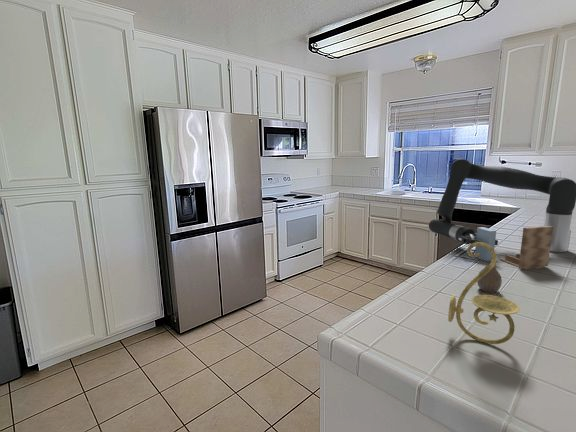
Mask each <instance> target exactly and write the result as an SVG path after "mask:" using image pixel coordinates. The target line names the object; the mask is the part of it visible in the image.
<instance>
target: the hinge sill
mask: <svg viewBox="0 0 576 432" xmlns="http://www.w3.org/2000/svg"><path fill="white" fill-rule="evenodd" d="M552 232H553V227H552V226H544V225H543V226H530V227H523V228H522V235H521V236H522V237H521V244H520V245H521V246H520V253H516V254H515V256H512V255H509V254H505V256H504V258H503V257H502V258H499V261H501V262H504V263H507V264H509V265H511V266H515V267H517V268H519V269H522V270H535V269H545V267H549V259H550V252H551V251H550V246H551V239H552Z"/></svg>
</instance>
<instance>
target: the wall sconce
mask: <svg viewBox="0 0 576 432" xmlns="http://www.w3.org/2000/svg"><path fill="white" fill-rule="evenodd" d="M476 246H483V247H485V248H487V249H488V250H489V251H490V252H491V255H492V261H490V263H489V264H488V265H489V266H488V267H487V268H486V269H485V270H484V271H482V272H481V273H480V274H479V273H478V274H479V275H476V276H475V277H474V278H473V279H472V280H471V281H470V282H469V283H467V285H466V286H465V288H463V290H462V292H461V293H460V295H459V298H458V301H457V299H456V298H457V297H456V295H454V294H452V295H451V298H450V301H449V307H448V316H447V317H448V318H447V319H448V322H449V323H452V322H453V320H454V318H455V317H456V322H457V325H458V326H459V328H460V329H461V330H462V331H463V333H464V334H465V335H467V336H468V337H470V338H471V339H473V340H475V341H477V342H479V343H480V342H481V343H483V342H484V344H488V345H490V344H491V345H498V344H499V345H500V344H503V343H506V342H508V341H509V340H510V339H512V337H513V336H514V333H515V322H514V319H513V318H512V316H511V315H515V314H517V313H519V311H520V306H519V305H518V304H517V303H516V302H514V301H512V300H510V299H508V298H505V297H502V296H497V295H491V294H480V295H479V294H478V295H474V296H472V298H471V302H472V304H473V305H474V306H476V307H477V308H476V309H474V312H473V318H474V320H475V322H476V323H478V324H479V325H482V326H483V325H484V326H488V325H489V324H490V322H488V321H487V320H482V319H480V318H479V313H480V312H484V311H486V312H489V313H492V314H488V315H487V316H488V318H489V321H494V322H495V323H497V319H499V318H500V317H498V316H496V315H495V314H497V315H503V316H504V317H505V318H506V320H507V321H508V325H509V329H508V332H507V334H506V335H505V336H504V337H502V338H499V339H487V338H483V337H479V336H478V335H475V334H473V333H472V332H471V331H469V330H468V329H467V328H466V327H465V326H464V324H463V321H462V319H461V318H462V317H461V314H463V313H464V310H465V309H464V308H463V307H462V304H463V301H464V299H465V298H466V295H467V294H468V292H469V290H471V289H472V287H473V286H475V284H476V283H477V281H479V280H480V279H481V278H482V277H483V276H485V275H486V274H487V273H488V272H489V271H490V270H491V269H492V268H493V267H494V266H495V265H496V264H497V254H496V253H497V252H496V251H495V248H494V249H493V248H492V247H491V246H490V245H488V244H486V243H482V242H476V243H472V244H468V246H467V249H466V254H467V255H468V256H469V257H471V258H472V259H473V258H478V256H479V255H480V254H479V253H477V254H475V253H472V251H471V250H472V249H473V248H474V247H476ZM495 267H496V266H495Z"/></svg>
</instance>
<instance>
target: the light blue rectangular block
mask: <svg viewBox="0 0 576 432" xmlns="http://www.w3.org/2000/svg"><path fill="white" fill-rule="evenodd" d="M476 233H477V237H476V240H479V241H482V243H486V244H488V245H490V246H491V247H492V248H493V249H494V250H495V247H496V245H495V240H496V238H497V237H496V236H497V230H494V229H491V228H488V227H484V226H482V227H480V226H479V227H477V228H476ZM474 249H475V250H474V254H477V253H479V254H480V255H479V256H478V257H477V258H479V259H481V260H484V261H486V262H491V261H492V255H491V252H490V251H489V250H488V249H487V248H485V247H483V246H475V248H474Z"/></svg>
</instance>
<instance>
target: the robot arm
mask: <svg viewBox="0 0 576 432" xmlns="http://www.w3.org/2000/svg"><path fill="white" fill-rule="evenodd" d="M449 169H450V173H449V176H448V177H449V179H448V181H447V184H446V187H445V190H444V193H443V196H442V198H441V201H440V203H439V205H438V208H437V215H439V216H441V220H440V219H437V218H434V219H432V220H430V221H429V223H428V229H429V230H430V231H431V232H432V233H435V234H438V235H442V236H445V237H447V238H450V239H452V240H454V241H455V242H458V243H462V244H464V245H471V244H472V243H476V242H482V241H479V240H476V237H477V232H476V231H475V230H474V229H473V228H471V227H467V226H463V225H459V224H458V225H457V224H455V223H452V220H453V218H452V217H453V212H454V209H455V207H456V205H457V202H458V201H457V200H458V197H459V194H460V190H461V188H462V185H463V183H464V181H465V179H472V180H477V181H481V182H484V183H486V184H487V183H488V184H491V185H495V186H499V187H503V188H508V189H513V190H526V191H529V190H530V191H536V192H540V193H543V194H547V195H549V198H548V204H547V206H546V208H545V209H546V210H545V217H544V224H543V226H552V227H553V232H552V239H551V246H550V252H556V253H566V252H567V251H569V248H570V243H571V242H570V241H571V234H572V230H571V223H572V218H573V211H574V210H575V206H576V182H575V181H574V180H572V179H571V178H567V177H560V176H559V177H555V176H546V175H540V174H535V173H532V172H530V171H526V170H525V171H524V170H522V169H517V168H512V167H507V166H496V165H481V164H477V163H472V162H470V161H469V160H468V159H466V158H457V159H455V160H454V161H452V163H451V165H450V167H449ZM498 242H499V241H498V239H495V246H498V244H499V243H498Z"/></svg>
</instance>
